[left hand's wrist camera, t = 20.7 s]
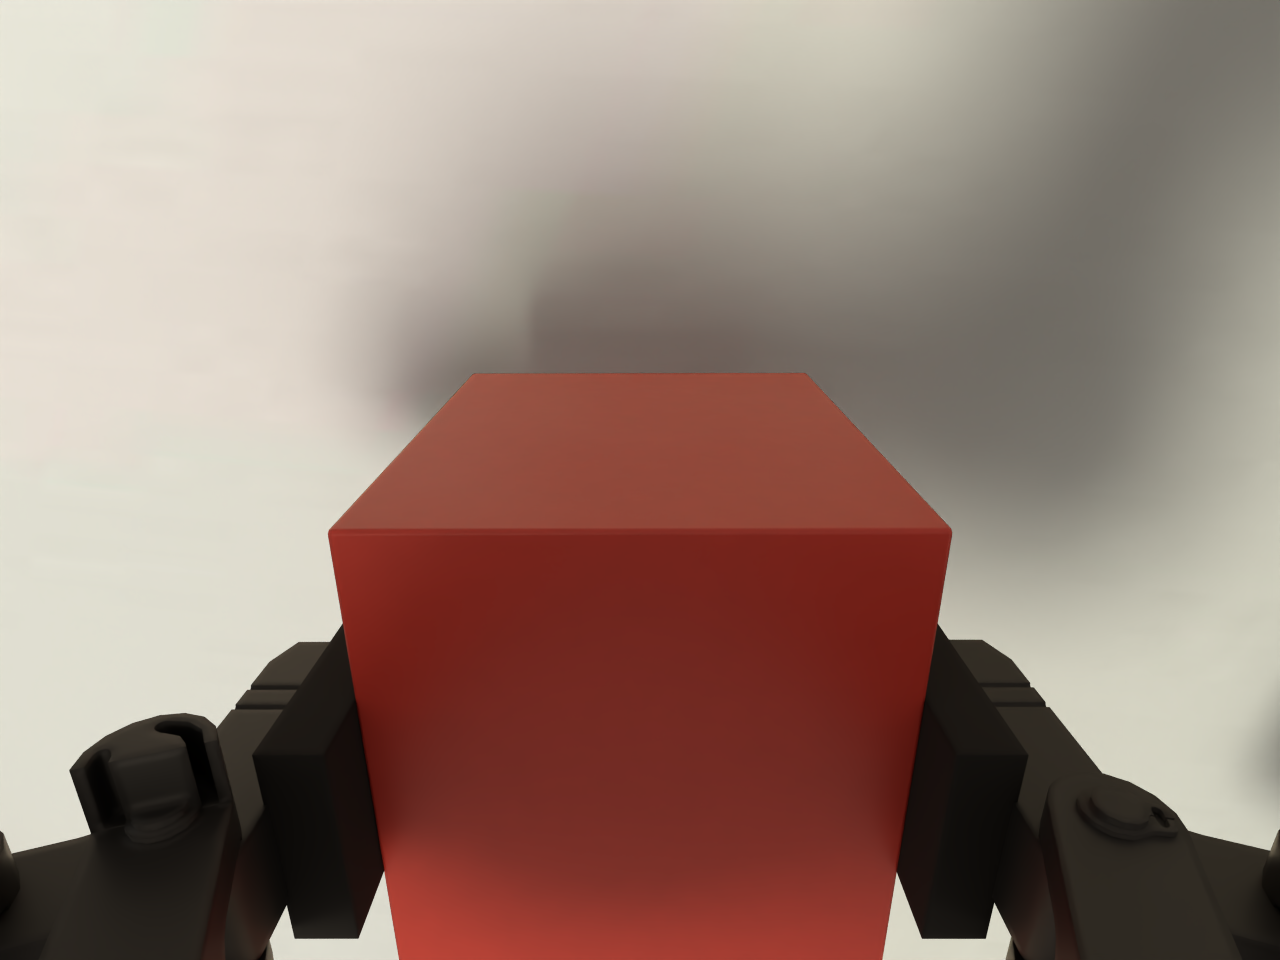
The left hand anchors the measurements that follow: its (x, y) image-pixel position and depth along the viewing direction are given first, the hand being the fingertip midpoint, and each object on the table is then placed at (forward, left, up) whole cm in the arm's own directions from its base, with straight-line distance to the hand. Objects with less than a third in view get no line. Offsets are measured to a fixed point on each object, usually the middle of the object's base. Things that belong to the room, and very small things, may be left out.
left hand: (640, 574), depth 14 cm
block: (0, 0, -2) cm, 2 cm away
